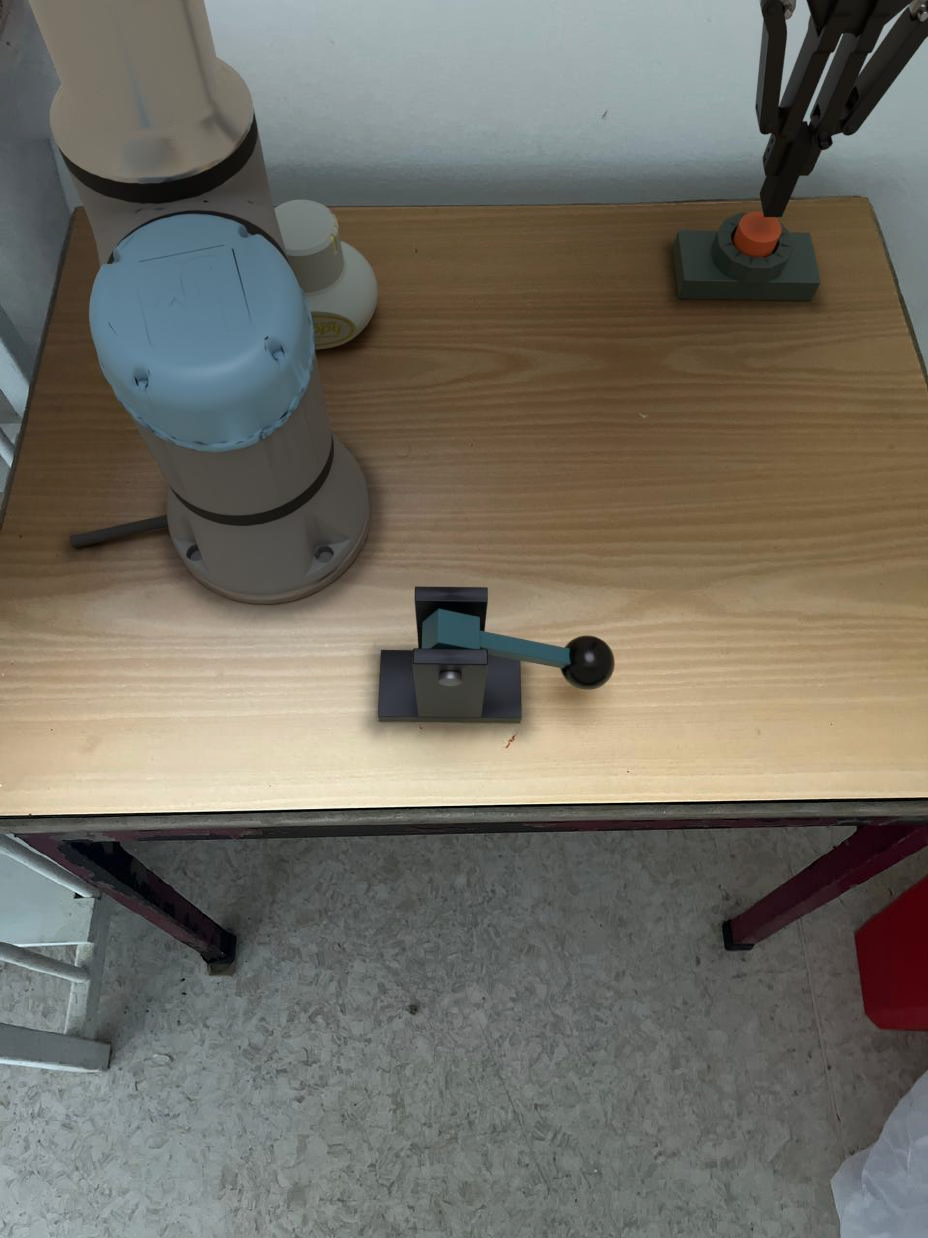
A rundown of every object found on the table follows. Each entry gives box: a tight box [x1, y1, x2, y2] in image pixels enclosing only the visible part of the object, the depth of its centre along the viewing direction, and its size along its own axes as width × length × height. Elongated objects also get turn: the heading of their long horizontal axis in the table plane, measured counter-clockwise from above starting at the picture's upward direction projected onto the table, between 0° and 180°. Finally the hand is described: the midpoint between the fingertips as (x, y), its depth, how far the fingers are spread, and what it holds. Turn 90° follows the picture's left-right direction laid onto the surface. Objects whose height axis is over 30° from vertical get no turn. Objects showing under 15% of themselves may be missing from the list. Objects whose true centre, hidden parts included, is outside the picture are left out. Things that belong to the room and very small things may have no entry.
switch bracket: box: [377, 585, 522, 724], centre depth 56 cm, size 10×6×12 cm, turn 90°
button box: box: [671, 211, 821, 302], centre depth 75 cm, size 12×6×4 cm, turn 90°
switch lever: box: [422, 609, 616, 691], centre depth 54 cm, size 13×4×4 cm, turn 90°
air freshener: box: [274, 199, 379, 350], centre depth 70 cm, size 11×8×10 cm
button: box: [733, 211, 782, 257], centre depth 73 cm, size 4×4×2 cm
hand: (770, 204), depth 70 cm, fingers closed
